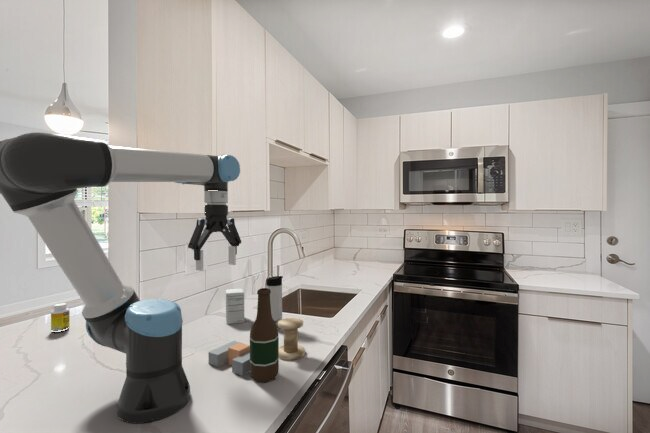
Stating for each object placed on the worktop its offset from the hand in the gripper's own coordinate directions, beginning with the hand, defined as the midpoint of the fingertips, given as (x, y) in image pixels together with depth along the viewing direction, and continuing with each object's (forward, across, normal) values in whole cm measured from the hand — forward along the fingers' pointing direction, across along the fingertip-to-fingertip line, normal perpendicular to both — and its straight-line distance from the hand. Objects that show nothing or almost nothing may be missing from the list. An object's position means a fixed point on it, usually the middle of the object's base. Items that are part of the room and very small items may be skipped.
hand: (216, 267), depth 109 cm
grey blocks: (+27, -5, -15) cm, 31 cm away
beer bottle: (+27, -7, -27) cm, 39 cm away
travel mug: (+27, +25, -4) cm, 37 cm away
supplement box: (+27, +22, +15) cm, 38 cm away
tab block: (+27, -5, -16) cm, 31 cm away
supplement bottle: (+27, -21, +64) cm, 73 cm away
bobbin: (+27, +8, -25) cm, 37 cm away
